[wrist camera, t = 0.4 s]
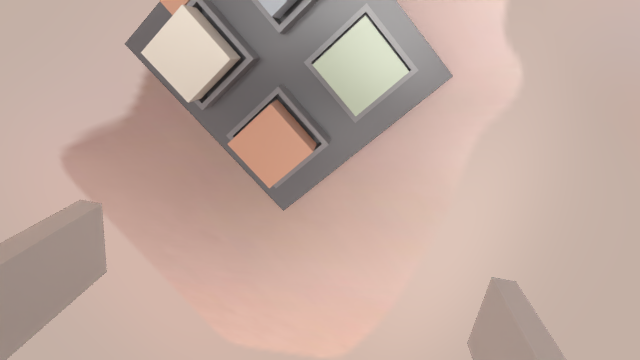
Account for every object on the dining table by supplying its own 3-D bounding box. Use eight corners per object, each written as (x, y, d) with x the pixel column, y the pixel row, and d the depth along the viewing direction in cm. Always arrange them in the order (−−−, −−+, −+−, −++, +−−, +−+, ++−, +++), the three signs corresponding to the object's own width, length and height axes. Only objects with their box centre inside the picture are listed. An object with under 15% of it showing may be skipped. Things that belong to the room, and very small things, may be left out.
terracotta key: (237, 136, 31) (227, 144, 29) (277, 99, 30) (270, 103, 27) (275, 178, 32) (269, 188, 30) (316, 143, 31) (313, 151, 28)
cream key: (157, 52, 29) (140, 52, 27) (196, 7, 28) (182, 4, 26) (201, 98, 30) (188, 102, 28) (240, 57, 29) (230, 59, 27)
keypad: (131, 43, 32) (109, 43, 30) (286, -142, 27) (277, -164, 24) (285, 206, 36) (278, 219, 34) (450, 75, 31) (459, 78, 28)
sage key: (316, 63, 28) (312, 64, 26) (365, 17, 27) (365, 15, 25) (356, 111, 29) (355, 116, 27) (405, 69, 28) (409, 71, 26)
